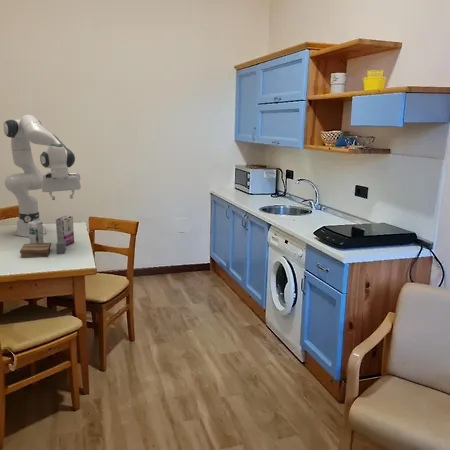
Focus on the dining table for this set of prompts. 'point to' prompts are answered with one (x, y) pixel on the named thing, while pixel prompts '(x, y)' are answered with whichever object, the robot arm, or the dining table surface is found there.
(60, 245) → the block
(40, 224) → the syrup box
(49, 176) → the robot arm
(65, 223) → the candy bar box
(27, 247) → the wooden stand
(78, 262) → the dining table surface
